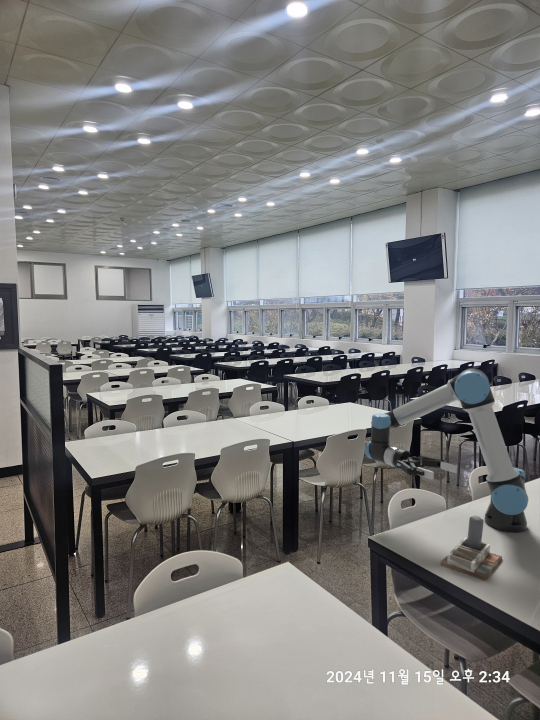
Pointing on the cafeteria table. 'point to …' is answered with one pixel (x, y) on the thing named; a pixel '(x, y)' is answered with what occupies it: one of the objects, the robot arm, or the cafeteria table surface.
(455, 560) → the socket board
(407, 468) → the robot arm
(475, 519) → the plug
